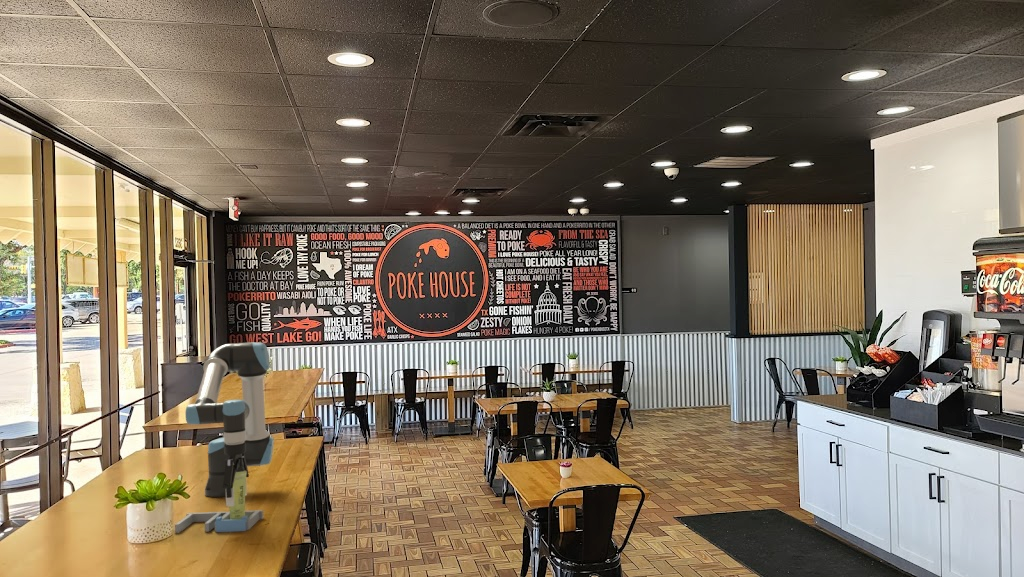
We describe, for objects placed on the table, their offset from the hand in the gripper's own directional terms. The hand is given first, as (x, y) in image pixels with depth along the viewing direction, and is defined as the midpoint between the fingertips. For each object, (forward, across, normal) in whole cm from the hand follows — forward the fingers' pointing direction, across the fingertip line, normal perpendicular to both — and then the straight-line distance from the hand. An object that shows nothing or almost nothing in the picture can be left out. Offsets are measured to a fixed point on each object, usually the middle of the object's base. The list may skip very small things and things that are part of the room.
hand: (236, 500), depth 273 cm
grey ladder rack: (+9, -1, -7) cm, 11 cm away
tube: (+9, 0, 0) cm, 9 cm away
